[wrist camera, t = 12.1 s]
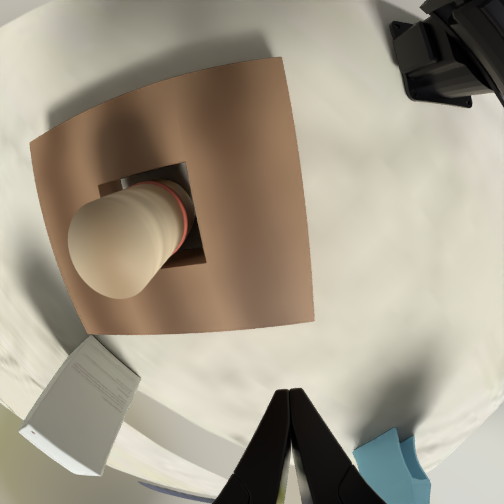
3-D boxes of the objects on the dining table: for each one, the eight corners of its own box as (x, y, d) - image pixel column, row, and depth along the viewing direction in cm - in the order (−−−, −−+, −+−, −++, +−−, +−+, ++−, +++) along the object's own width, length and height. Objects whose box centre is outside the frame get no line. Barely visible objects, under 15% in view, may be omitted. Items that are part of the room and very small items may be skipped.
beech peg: (192, 169, 17) (140, 186, 9) (205, 239, 19) (168, 298, 11) (129, 183, 17) (55, 209, 10) (143, 246, 19) (85, 302, 12)
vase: (348, 452, 29) (365, 565, 11) (394, 427, 27) (426, 546, 8) (374, 459, 31) (392, 555, 12) (414, 436, 28) (444, 535, 10)
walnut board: (278, 71, 14) (281, 56, 12) (308, 298, 20) (314, 321, 17) (53, 140, 16) (29, 142, 13) (103, 315, 22) (87, 334, 19)
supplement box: (67, 355, 25) (14, 429, 13) (92, 331, 23) (25, 423, 11) (112, 396, 26) (74, 475, 15) (144, 380, 24) (102, 478, 13)
